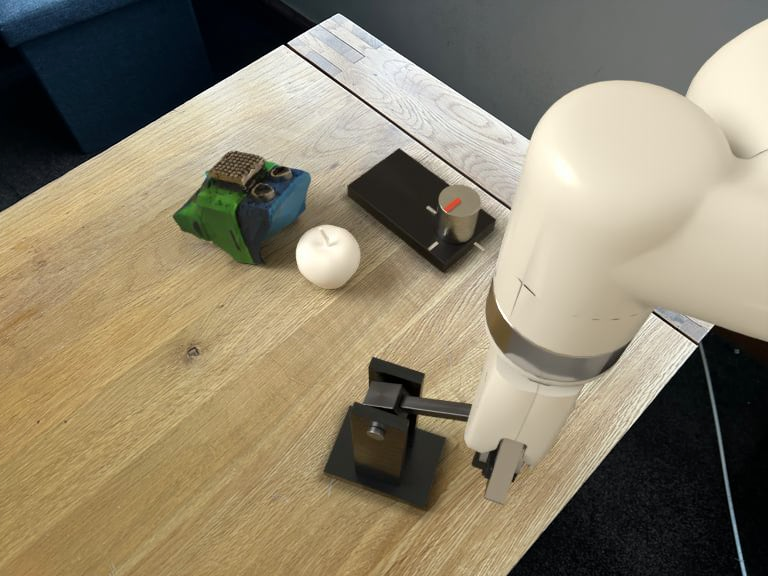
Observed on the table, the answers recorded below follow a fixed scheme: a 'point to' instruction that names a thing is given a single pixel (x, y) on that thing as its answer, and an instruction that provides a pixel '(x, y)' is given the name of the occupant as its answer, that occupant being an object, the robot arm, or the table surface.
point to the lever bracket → (387, 445)
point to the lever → (412, 403)
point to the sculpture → (244, 204)
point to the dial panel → (413, 207)
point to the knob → (457, 214)
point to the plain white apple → (328, 256)
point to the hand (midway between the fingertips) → (503, 431)
